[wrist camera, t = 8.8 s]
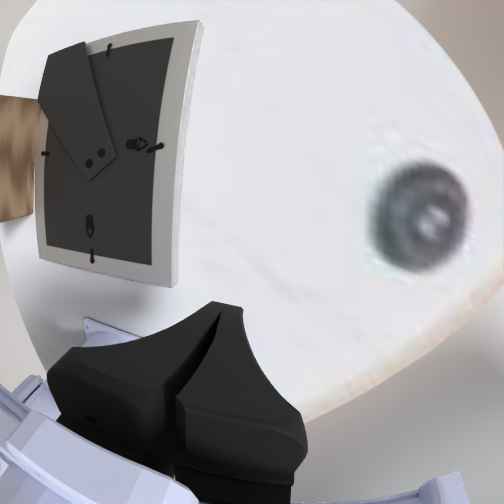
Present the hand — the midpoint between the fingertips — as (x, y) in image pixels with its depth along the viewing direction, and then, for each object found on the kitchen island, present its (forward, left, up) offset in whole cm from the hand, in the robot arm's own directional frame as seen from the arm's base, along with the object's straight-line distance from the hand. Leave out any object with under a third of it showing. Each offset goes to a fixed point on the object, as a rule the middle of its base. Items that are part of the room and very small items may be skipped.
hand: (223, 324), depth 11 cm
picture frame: (+7, +14, -10) cm, 18 cm away
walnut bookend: (+6, +25, -9) cm, 27 cm away
